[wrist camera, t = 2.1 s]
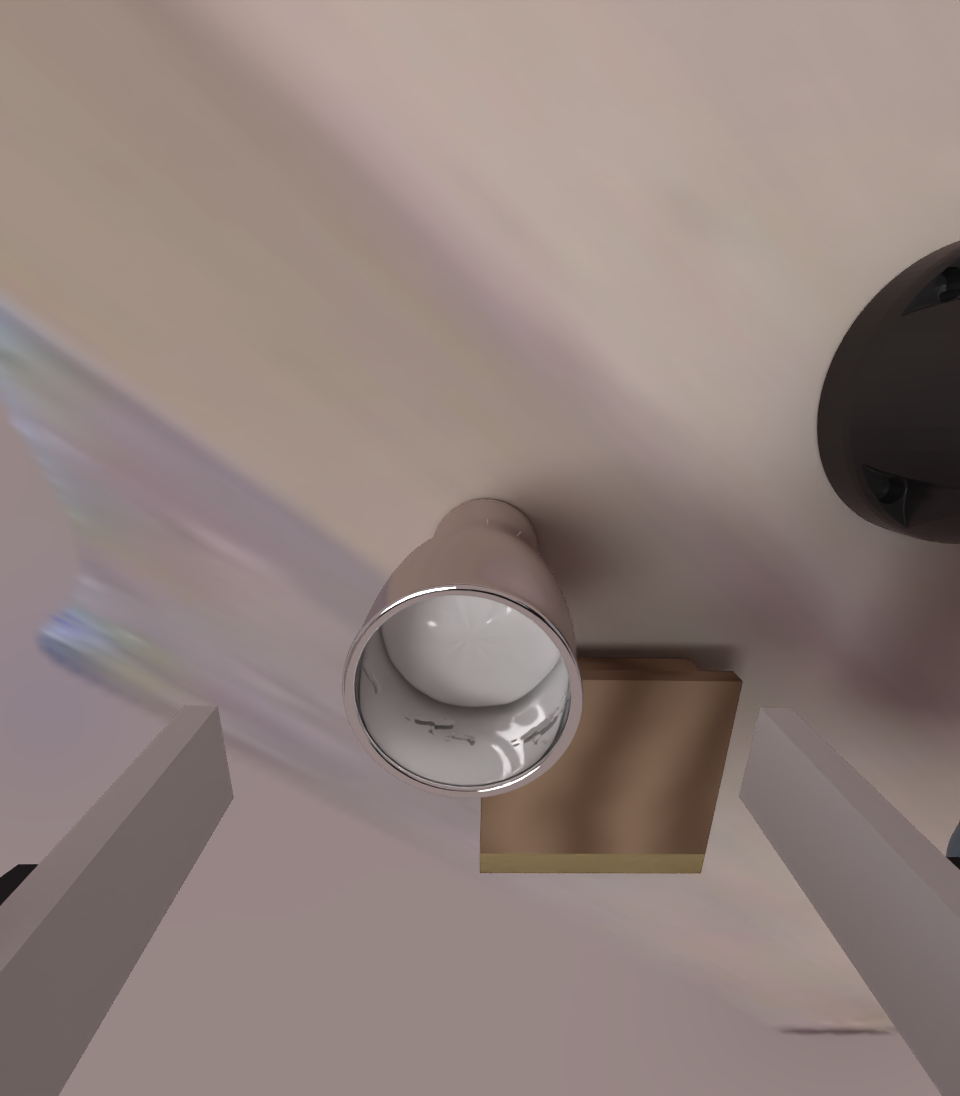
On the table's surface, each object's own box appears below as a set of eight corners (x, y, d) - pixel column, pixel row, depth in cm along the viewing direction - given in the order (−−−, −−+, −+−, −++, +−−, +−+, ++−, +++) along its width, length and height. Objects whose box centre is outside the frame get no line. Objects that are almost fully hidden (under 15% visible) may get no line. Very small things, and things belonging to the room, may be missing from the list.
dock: (707, 645, 29) (742, 681, 26) (675, 819, 34) (700, 873, 30) (483, 642, 29) (485, 679, 25) (479, 818, 33) (479, 872, 30)
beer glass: (544, 607, 28) (585, 810, 13) (427, 606, 28) (344, 801, 14) (547, 490, 26) (599, 577, 12) (422, 490, 26) (321, 574, 12)
